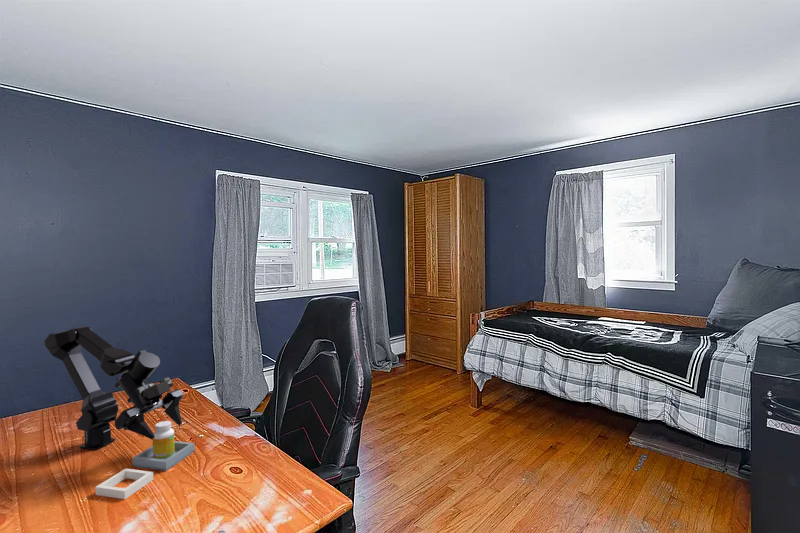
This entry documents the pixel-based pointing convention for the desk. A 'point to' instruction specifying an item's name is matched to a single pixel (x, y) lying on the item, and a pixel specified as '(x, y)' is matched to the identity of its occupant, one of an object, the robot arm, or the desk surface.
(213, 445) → the desk surface
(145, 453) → the tray
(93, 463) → the desk surface
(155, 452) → the supplement bottle
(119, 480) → the holder collar
